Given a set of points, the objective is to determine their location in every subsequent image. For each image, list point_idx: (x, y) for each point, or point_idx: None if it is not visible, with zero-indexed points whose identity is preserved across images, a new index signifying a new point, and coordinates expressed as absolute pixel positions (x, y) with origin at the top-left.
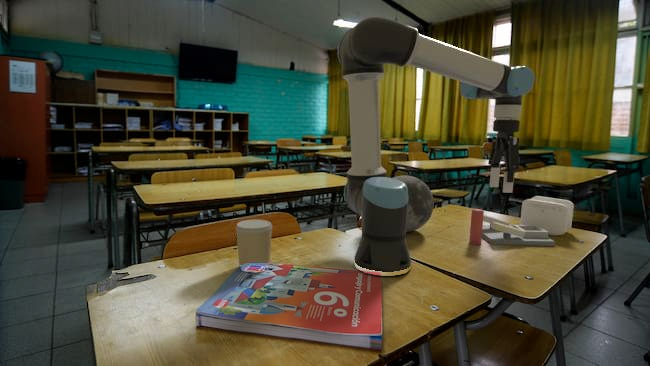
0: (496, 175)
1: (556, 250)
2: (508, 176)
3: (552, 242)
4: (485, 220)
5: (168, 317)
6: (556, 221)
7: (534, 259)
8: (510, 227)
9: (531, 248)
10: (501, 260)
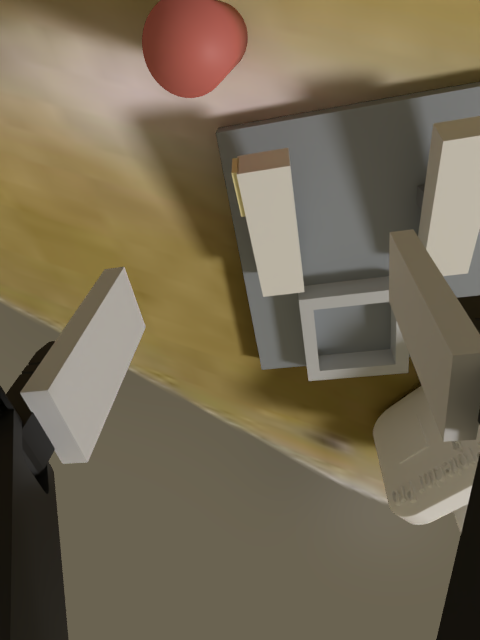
0: (417, 345)
1: (211, 347)
2: (27, 379)
3: (261, 360)
4: (431, 152)
5: None
6: (399, 444)
7: (79, 247)
8: (262, 244)
9: (210, 278)
10: (4, 115)
